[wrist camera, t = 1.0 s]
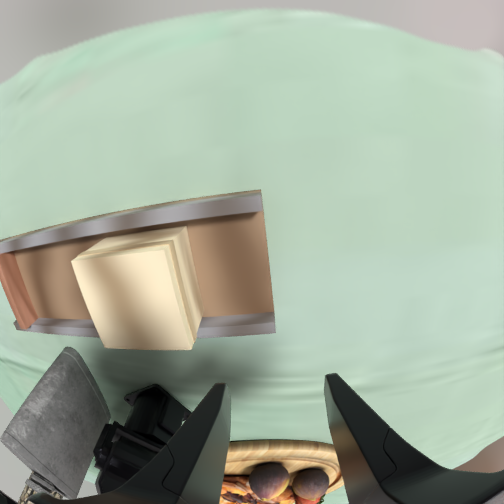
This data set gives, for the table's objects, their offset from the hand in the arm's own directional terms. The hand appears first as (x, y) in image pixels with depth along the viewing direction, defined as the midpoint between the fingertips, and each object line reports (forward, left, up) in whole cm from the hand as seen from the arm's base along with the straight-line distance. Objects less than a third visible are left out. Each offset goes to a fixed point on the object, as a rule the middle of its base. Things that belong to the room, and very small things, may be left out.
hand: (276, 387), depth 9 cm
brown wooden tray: (-13, +7, -13) cm, 20 cm away
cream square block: (-8, +4, -12) cm, 15 cm away
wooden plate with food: (-22, -35, -14) cm, 44 cm away
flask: (-29, -3, -13) cm, 32 cm away
